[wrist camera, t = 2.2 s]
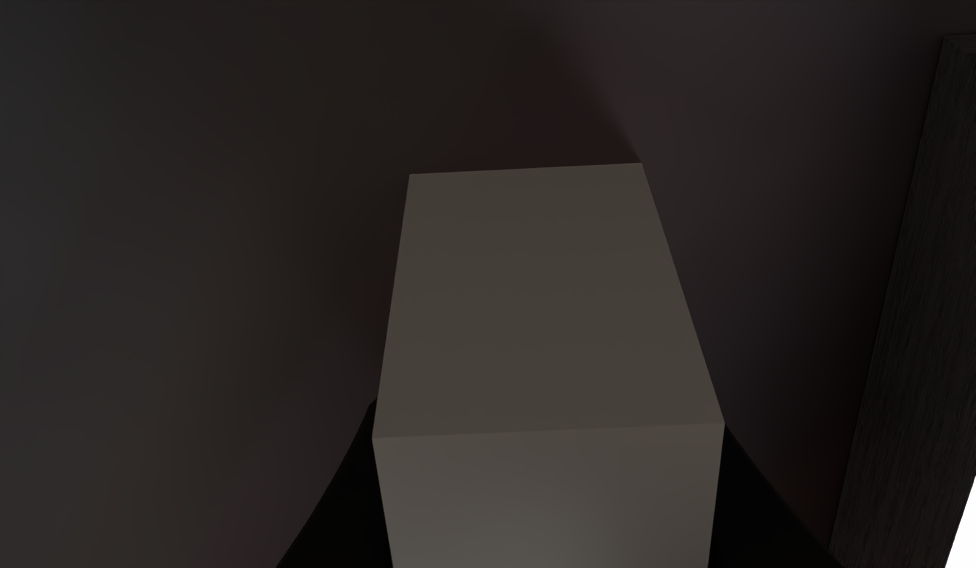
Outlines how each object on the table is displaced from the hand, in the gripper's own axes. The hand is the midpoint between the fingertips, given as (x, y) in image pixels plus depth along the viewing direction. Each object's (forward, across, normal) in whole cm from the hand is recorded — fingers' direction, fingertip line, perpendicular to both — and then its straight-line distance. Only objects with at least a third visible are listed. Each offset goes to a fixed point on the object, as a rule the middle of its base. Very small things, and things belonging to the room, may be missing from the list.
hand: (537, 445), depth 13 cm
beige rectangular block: (+2, 0, 0) cm, 2 cm away
